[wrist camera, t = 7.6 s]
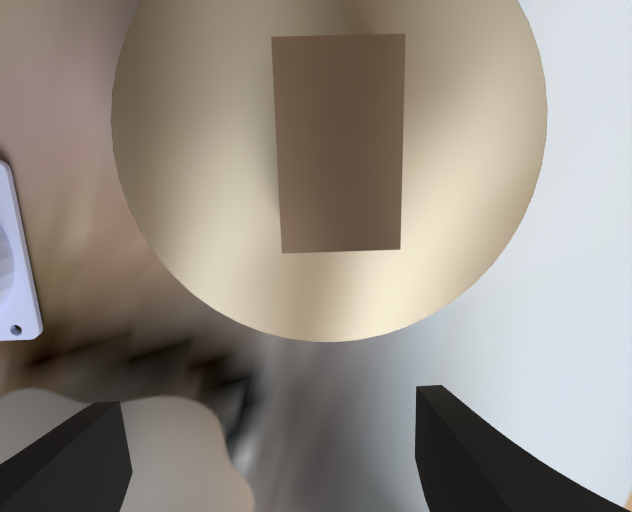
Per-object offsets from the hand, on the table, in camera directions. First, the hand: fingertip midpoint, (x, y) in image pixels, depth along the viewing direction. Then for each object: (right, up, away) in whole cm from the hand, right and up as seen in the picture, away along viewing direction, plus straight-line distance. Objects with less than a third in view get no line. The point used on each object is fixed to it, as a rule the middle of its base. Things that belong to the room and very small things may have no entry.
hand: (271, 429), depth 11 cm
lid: (+2, +8, +3) cm, 9 cm away
